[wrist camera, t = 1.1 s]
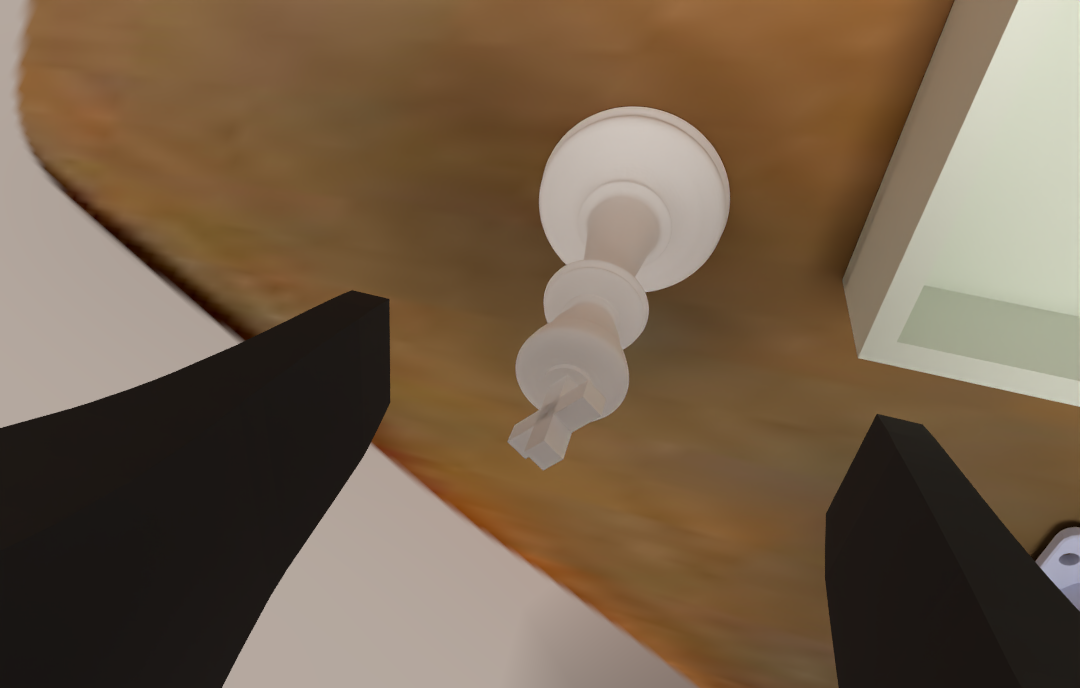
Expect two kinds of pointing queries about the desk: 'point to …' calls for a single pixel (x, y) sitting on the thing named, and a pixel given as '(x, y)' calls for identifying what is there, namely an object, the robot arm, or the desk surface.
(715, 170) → the chess piece
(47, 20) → the desk surface
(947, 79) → the box
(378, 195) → the desk surface
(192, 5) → the desk surface
